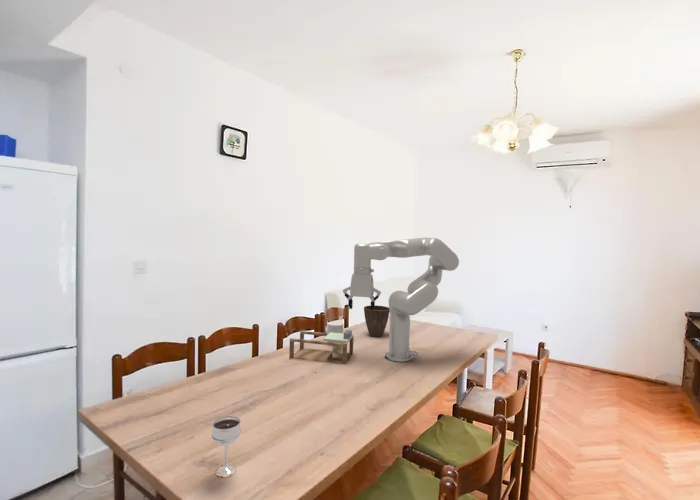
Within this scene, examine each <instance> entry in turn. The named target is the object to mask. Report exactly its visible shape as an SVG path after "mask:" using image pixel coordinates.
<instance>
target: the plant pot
mask: <svg viewBox="0 0 700 500" xmlns="http://www.w3.org/2000/svg"><path fill="white" fill-rule="evenodd" d="M363 313H364V321H365V323H366V324H365V325H366V329H367V332H368V335H369V336H370V337H373V338H382V337H383V335H384V334H385V333H384V332H385V331H386V328H387V324H388V321H389V318H390V310H389V306H384V305H375V308H374V309H373V310H372V311H371V305H365V306H364V307H363Z"/></svg>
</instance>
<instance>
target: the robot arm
mask: <svg viewBox="0 0 700 500" xmlns="http://www.w3.org/2000/svg"><path fill="white" fill-rule="evenodd" d="M353 248H354V249H353V251H354V254H353V273H352V274H351V279H350V286H348V287H346V288H344V289H342V292H343V295H344V297H345V298H346V299H347V301H348V303H347V304H348V305H347V307H348V309H349V310H352V309H353V304H354V303H353V297H359V298H369V300H371V301H370V306H371V311H372V310H373V309H374V308H375V306H376V304H375V303H376V300H378V299H379V297H380V296H381V294H382V291H380V290H378V289H377V288H376V287H374V285H375V284H374V276H373V274H372V273H375V269H373V268H372V260H374V261H383V260H384V261H385V260H386V259H388V258H412V257H421V256H430V257H429V259H428V267H427V270H426V271H425V272H424V273H423V274H421V275H420V276H419V277H417V278H416V279H414V280H412V281H411V282H410V283H409V284H408V286H407V291H403V290H395V291H393V292H392V293H391V294H390V295H389V297H388V307H389V310H390V312H389V328H388V329H389V330H388V332H389V335H388V336H389V337H388V351H387V352H385V355H384V357H385V359H387V360H389V361H393V362H398V363H402V362H403V363H405V362H409V361H411V360H413V357H419V352H418V351H416V350H412V349H411V347H410V333H411V318H410V316H415V315H417V314H418V313H421V311H423V310H424V309H426V308H427V307H429V306H430V305H431V304H432V303H433V302H435V300H436V299H437V298H438V294H439V288H438V285H439V284H441V281H442V278H443V271H447V272H448V271H451V272H452V271H455V270H456V269H457V268H458V267H459V265H460V260H459V257H458V255H457V254H456V253H455V252H454V251H453V250H452V249H451V248H450V247H449V246H448V245H447V244H446V243H444V242H443V241H442V240H441V239H439V238H437V237H419V238H418V237H416V238H409V239H408V238H407V239H397V240H396V239H395V240H386V241H385V240H384V241H376V242H369V243H356V244H355V245H354V247H353ZM348 291H349V293H348ZM374 292H375V294H376V295H375V296H374Z"/></svg>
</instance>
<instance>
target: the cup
mask: <svg viewBox="0 0 700 500" xmlns="http://www.w3.org/2000/svg"><path fill="white" fill-rule="evenodd" d="M330 332H333V333H344V322H341V321H330V322H327V327H326V333H330ZM326 342H330V341H326ZM337 343H340V342H337ZM328 346H329V347H333V346H332V345H328Z"/></svg>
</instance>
